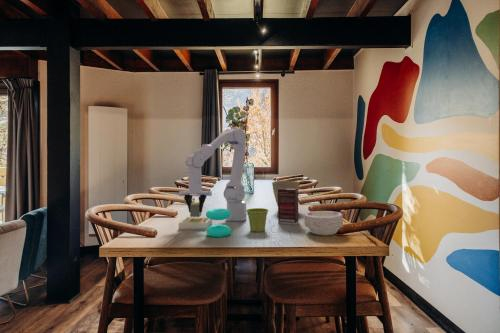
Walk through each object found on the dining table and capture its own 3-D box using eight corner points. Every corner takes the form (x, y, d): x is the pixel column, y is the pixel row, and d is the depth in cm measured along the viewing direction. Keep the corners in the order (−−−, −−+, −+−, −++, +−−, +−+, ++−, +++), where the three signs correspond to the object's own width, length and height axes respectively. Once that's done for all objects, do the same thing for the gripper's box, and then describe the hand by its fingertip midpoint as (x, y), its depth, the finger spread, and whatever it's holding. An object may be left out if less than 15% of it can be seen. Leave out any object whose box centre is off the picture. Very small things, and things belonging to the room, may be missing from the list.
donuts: (212, 207, 147) (234, 208, 143) (213, 231, 147) (235, 232, 144) (201, 211, 138) (224, 212, 134) (201, 236, 138) (225, 238, 135)
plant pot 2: (281, 208, 202) (281, 180, 202) (304, 210, 194) (304, 181, 193) (267, 211, 190) (266, 182, 189) (291, 214, 182) (291, 184, 181)
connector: (201, 215, 158) (201, 202, 158) (199, 216, 154) (198, 203, 154) (192, 215, 158) (192, 201, 158) (190, 216, 154) (190, 203, 154)
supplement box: (298, 222, 161) (298, 188, 161) (295, 225, 157) (295, 189, 156) (281, 221, 165) (280, 187, 164) (277, 223, 161) (277, 189, 160)
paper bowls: (301, 229, 149) (300, 210, 148) (336, 228, 150) (336, 209, 149) (309, 238, 134) (309, 217, 133) (348, 237, 135) (348, 216, 134)
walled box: (212, 223, 162) (211, 217, 161) (206, 229, 150) (206, 222, 149) (186, 223, 163) (186, 217, 163) (178, 229, 151) (178, 222, 151)
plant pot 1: (253, 234, 141) (252, 212, 141) (242, 229, 149) (242, 209, 149) (272, 231, 145) (272, 210, 145) (261, 227, 154) (261, 207, 153)
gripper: (176, 182, 152) (177, 213, 153) (209, 182, 150) (209, 213, 151) (181, 180, 159) (181, 210, 160) (212, 180, 157) (213, 210, 158)
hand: (195, 212), depth 156 cm, fingers closed on connector, 4 cm apart
